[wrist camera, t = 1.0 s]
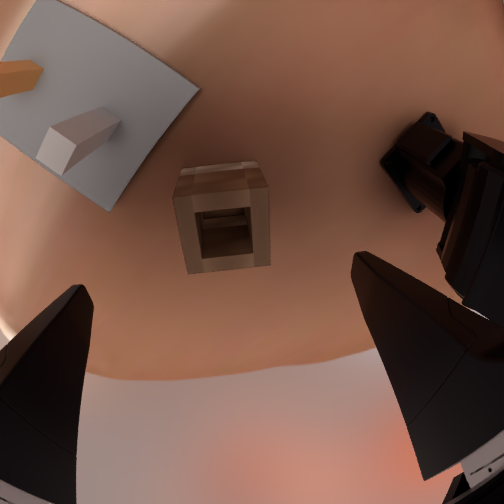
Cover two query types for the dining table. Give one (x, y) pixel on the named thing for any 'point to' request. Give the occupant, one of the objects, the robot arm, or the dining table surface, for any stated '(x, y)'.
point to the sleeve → (223, 228)
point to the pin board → (85, 99)
